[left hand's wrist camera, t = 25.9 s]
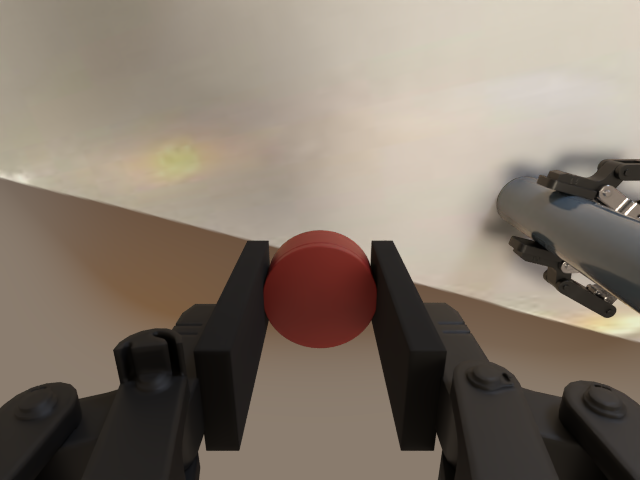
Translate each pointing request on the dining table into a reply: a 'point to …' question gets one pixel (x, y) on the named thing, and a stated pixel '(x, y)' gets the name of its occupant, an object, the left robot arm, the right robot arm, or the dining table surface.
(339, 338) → the cap
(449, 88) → the dining table surface
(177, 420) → the left robot arm
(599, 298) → the right robot arm
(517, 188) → the bottle
